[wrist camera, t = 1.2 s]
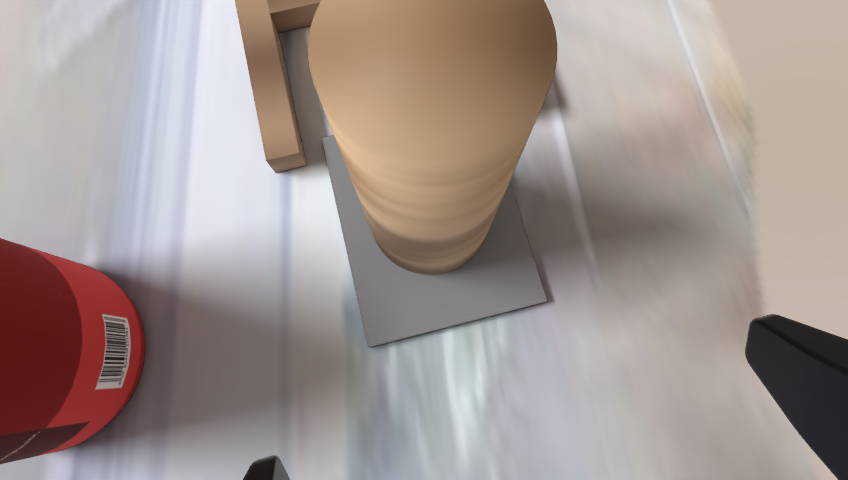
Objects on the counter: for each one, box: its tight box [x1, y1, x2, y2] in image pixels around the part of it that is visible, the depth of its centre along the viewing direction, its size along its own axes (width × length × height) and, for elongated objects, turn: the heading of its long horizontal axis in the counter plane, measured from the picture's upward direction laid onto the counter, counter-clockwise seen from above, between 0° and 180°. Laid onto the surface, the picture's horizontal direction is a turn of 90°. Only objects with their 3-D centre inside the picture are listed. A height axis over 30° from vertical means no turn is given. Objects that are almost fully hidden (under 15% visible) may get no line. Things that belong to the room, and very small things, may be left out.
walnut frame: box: [235, 0, 321, 173], centre depth 26 cm, size 9×13×2 cm, turn 104°
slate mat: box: [322, 135, 547, 347], centre depth 24 cm, size 10×8×1 cm
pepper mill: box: [308, 0, 557, 275], centre depth 18 cm, size 5×5×13 cm
